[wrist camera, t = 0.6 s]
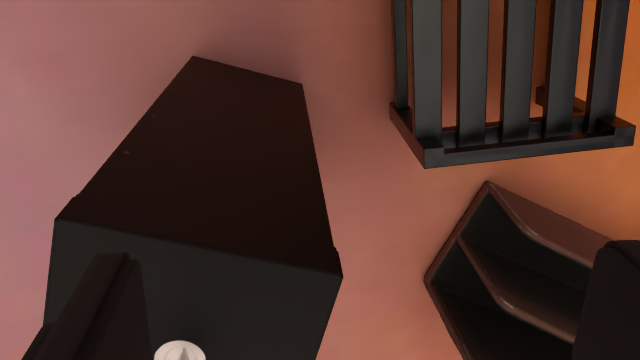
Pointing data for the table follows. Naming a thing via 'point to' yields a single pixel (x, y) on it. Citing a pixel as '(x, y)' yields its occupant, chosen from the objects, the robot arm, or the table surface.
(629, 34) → the table surface
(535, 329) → the letter holder
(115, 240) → the tissue box
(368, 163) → the table surface
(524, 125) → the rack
